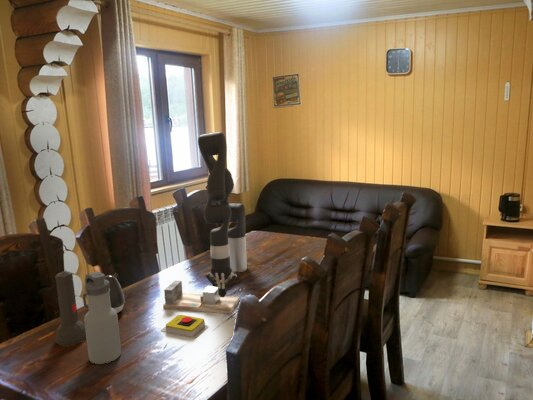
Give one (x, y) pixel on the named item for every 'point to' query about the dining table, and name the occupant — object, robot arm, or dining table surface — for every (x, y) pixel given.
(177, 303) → the base
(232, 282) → the hand tool
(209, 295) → the light grey cube
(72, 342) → the flashlight
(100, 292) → the water bottle
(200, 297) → the drag pointer
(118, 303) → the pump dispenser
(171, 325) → the emergency button
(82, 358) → the dining table surface
